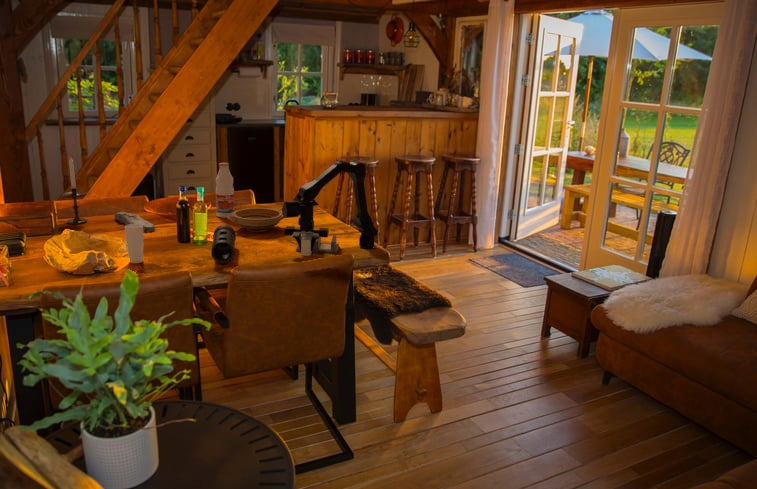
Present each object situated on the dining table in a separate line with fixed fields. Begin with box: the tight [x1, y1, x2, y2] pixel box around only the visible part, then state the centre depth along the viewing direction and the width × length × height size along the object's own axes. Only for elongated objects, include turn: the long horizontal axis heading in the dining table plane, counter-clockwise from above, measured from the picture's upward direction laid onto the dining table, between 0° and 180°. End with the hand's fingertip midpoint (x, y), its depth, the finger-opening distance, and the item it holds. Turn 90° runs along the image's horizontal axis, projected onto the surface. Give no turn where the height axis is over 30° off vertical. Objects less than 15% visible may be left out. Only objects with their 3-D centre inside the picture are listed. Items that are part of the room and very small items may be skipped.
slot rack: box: [295, 234, 340, 254], centre depth 269 cm, size 18×11×5 cm, turn 89°
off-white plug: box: [300, 237, 313, 257], centre depth 260 cm, size 4×4×7 cm
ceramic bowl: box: [227, 207, 285, 233], centre depth 296 cm, size 30×24×8 cm
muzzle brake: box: [210, 224, 237, 266], centre depth 253 cm, size 10×28×10 cm, turn 12°
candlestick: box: [61, 150, 88, 226], centre depth 289 cm, size 11×11×35 cm
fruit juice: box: [215, 162, 236, 219], centre depth 315 cm, size 9×9×28 cm
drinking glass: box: [124, 224, 145, 264], centre depth 239 cm, size 7×7×15 cm
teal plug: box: [305, 234, 315, 247], centre depth 268 cm, size 4×4×7 cm
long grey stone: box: [114, 211, 156, 233], centre depth 295 cm, size 35×5×10 cm
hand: (306, 250), depth 260 cm, fingers closed on off-white plug, 4 cm apart
